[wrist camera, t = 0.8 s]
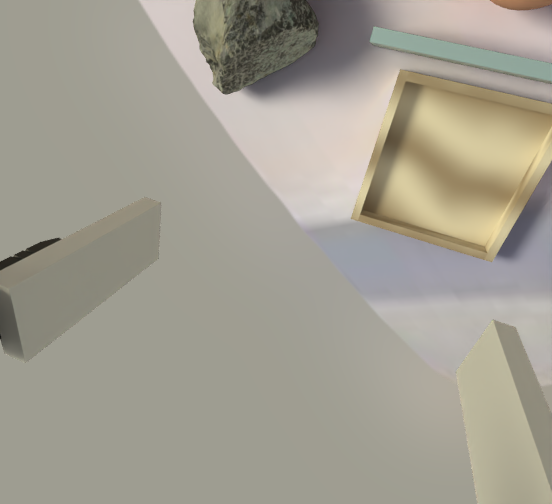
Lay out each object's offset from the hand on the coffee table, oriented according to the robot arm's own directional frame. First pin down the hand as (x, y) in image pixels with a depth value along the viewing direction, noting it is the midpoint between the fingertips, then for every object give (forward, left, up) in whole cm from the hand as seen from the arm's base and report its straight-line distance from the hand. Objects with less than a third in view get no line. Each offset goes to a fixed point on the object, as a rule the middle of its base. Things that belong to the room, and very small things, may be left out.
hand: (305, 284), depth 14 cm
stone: (-9, -12, -24) cm, 28 cm away
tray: (-1, +7, -24) cm, 25 cm away
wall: (-10, +6, -24) cm, 27 cm away
